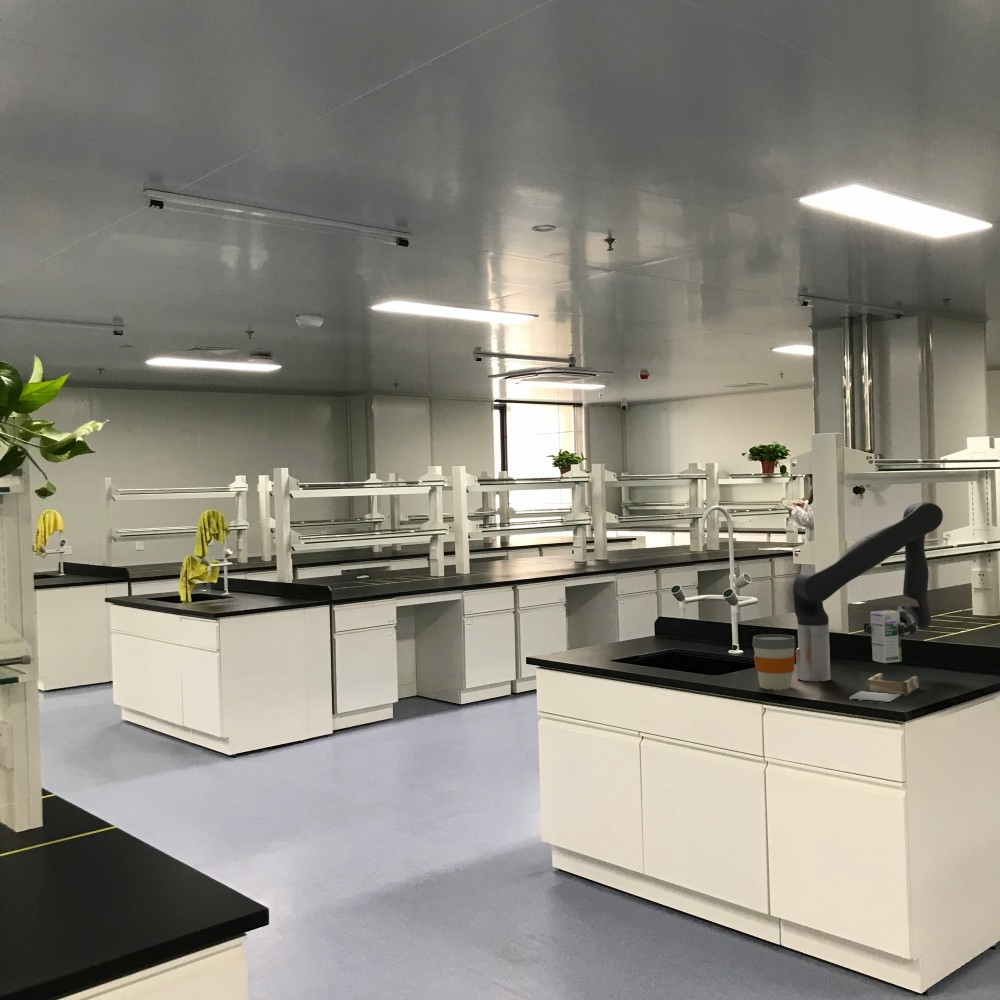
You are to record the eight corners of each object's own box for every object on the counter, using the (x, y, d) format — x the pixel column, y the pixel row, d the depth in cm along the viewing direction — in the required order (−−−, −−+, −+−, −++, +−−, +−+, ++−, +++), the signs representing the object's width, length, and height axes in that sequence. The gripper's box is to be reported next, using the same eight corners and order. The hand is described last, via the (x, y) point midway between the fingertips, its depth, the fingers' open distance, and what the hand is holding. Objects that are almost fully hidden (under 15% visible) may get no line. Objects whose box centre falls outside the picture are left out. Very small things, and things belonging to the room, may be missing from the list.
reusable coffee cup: (761, 691, 291) (760, 640, 291) (748, 684, 304) (746, 635, 304) (803, 689, 292) (801, 638, 292) (788, 682, 305) (786, 633, 305)
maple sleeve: (879, 684, 296) (879, 673, 296) (918, 688, 290) (917, 676, 290) (866, 692, 286) (866, 679, 286) (906, 695, 280) (906, 683, 280)
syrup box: (885, 663, 282) (883, 612, 282) (871, 660, 288) (870, 610, 288) (902, 662, 284) (900, 611, 284) (888, 659, 289) (886, 609, 289)
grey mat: (849, 699, 277) (849, 697, 277) (860, 693, 285) (860, 691, 285) (890, 703, 270) (889, 700, 270) (900, 696, 278) (900, 694, 278)
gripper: (873, 610, 301) (857, 616, 288) (923, 612, 293) (909, 618, 280) (874, 635, 301) (858, 642, 288) (924, 637, 293) (910, 645, 280)
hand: (883, 630), depth 284 cm, fingers closed on syrup box, 8 cm apart
